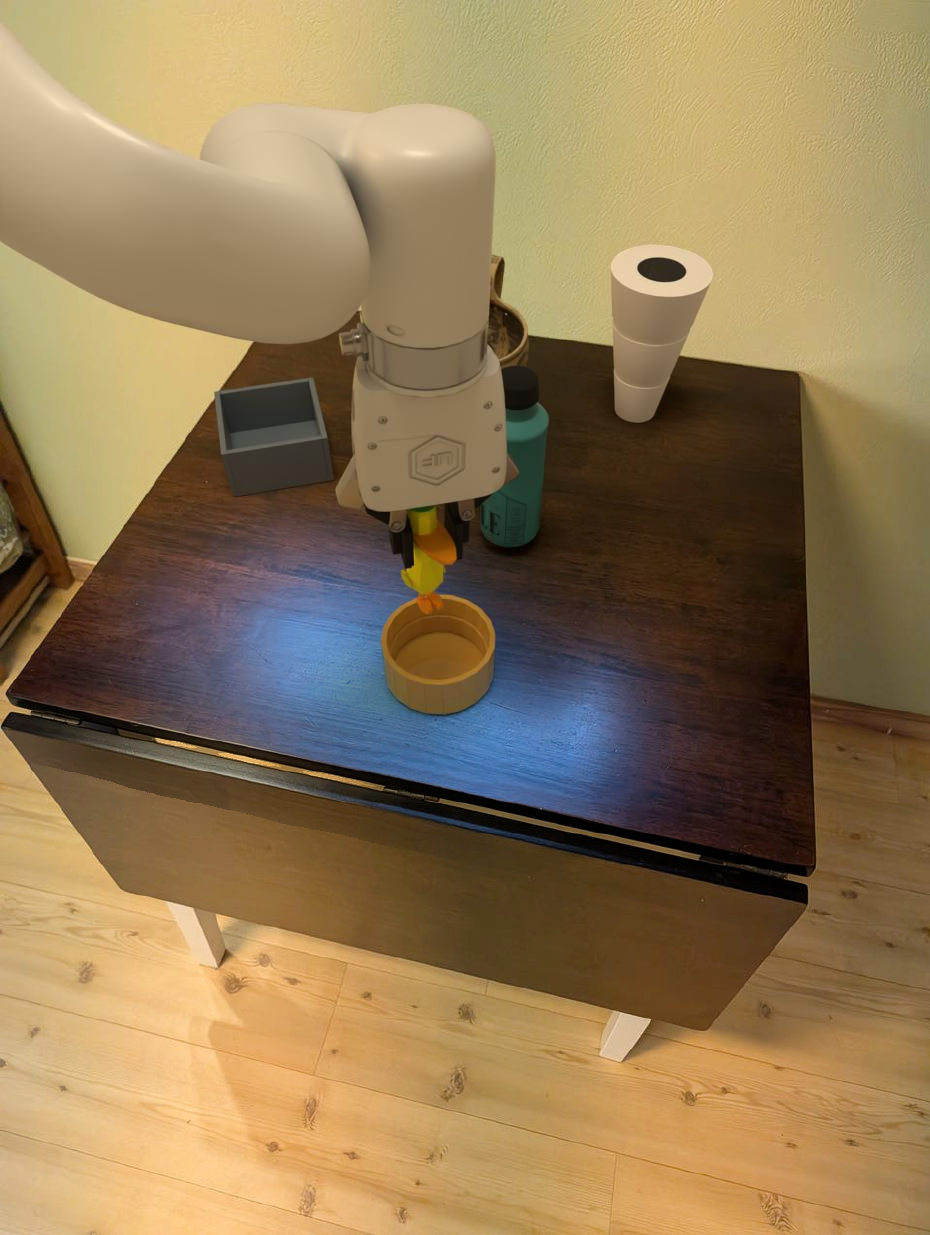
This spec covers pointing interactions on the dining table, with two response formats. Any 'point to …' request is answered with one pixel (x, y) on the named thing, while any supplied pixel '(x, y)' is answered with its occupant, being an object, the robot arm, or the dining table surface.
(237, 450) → the grey bin
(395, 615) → the mustard bowl
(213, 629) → the dining table surface
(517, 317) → the ceramic bowl
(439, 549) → the toy figure
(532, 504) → the beverage bottle
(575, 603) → the dining table surface
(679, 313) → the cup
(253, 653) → the dining table surface
